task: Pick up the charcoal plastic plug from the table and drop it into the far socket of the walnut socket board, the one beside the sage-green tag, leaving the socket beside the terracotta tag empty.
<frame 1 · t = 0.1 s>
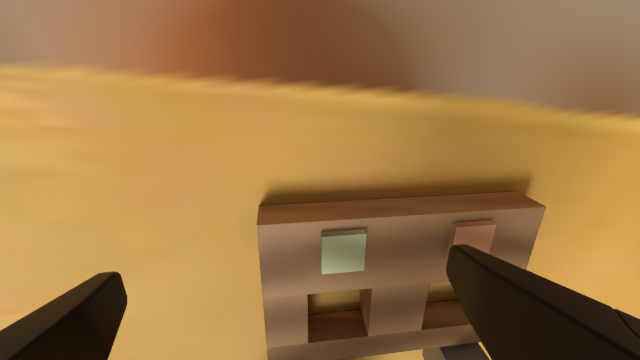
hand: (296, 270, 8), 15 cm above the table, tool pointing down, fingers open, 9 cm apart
socket board: (387, 267, 28), on the table
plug: (442, 339, 32), on the table
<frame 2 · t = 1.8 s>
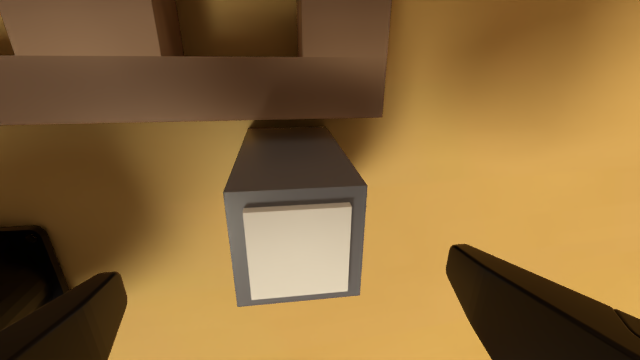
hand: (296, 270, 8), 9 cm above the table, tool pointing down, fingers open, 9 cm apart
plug: (288, 163, 17), on the table
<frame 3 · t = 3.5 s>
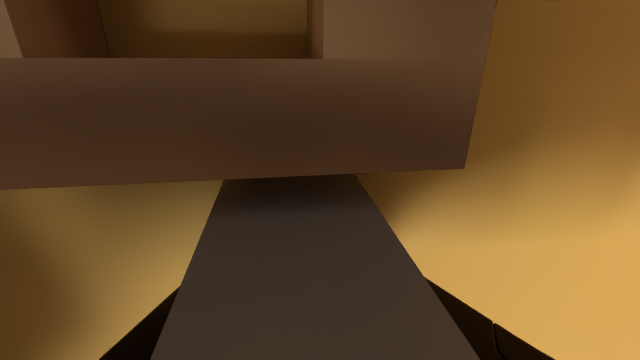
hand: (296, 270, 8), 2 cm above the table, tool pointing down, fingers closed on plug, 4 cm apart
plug: (291, 225, 11), on the table, touching gripper
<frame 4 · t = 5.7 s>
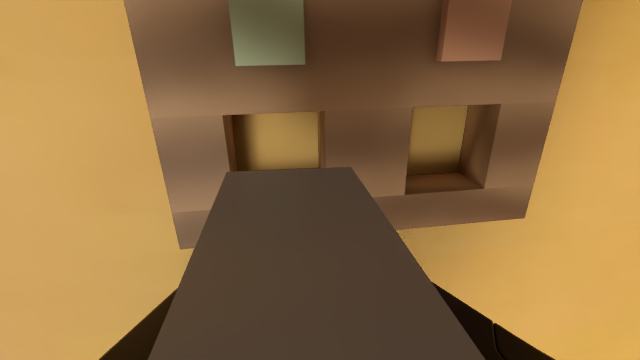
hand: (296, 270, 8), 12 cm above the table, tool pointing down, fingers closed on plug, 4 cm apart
socket board: (355, 111, 19), on the table
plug: (292, 223, 11), point 10 cm above the table, touching gripper
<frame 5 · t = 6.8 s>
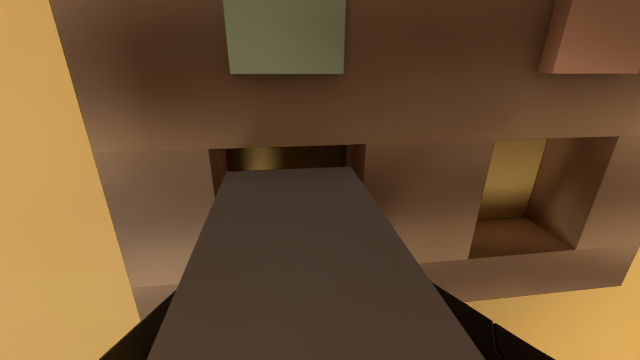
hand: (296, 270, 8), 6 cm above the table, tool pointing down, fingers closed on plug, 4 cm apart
socket board: (398, 137, 14), on the table
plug: (292, 223, 11), point 4 cm above the table, touching gripper
when the fingers open (4 cm above the table, at t = 7.9 s): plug drops 2 cm, resting in socket board.
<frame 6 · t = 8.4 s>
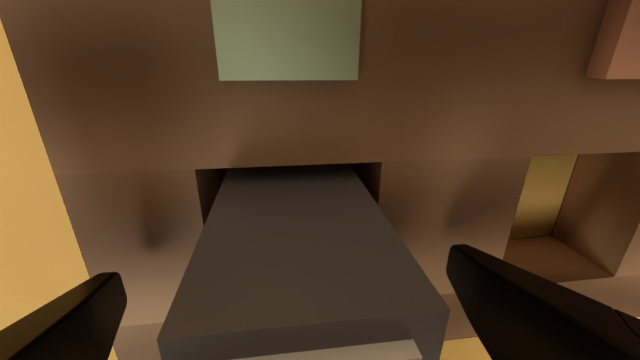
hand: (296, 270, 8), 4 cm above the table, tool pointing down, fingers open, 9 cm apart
socket board: (414, 150, 12), on the table
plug: (289, 200, 12), resting in socket board
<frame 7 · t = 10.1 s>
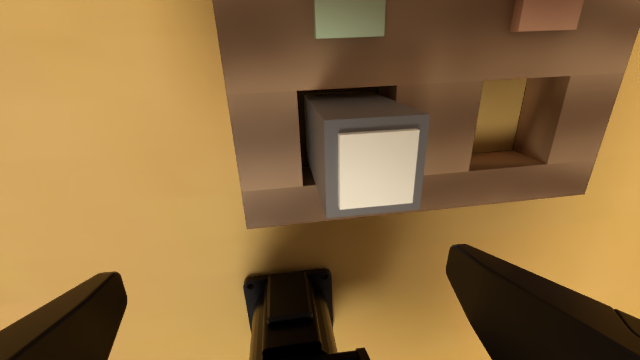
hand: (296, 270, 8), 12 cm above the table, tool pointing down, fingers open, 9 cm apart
socket board: (415, 88, 19), on the table
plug: (337, 125, 19), resting in socket board
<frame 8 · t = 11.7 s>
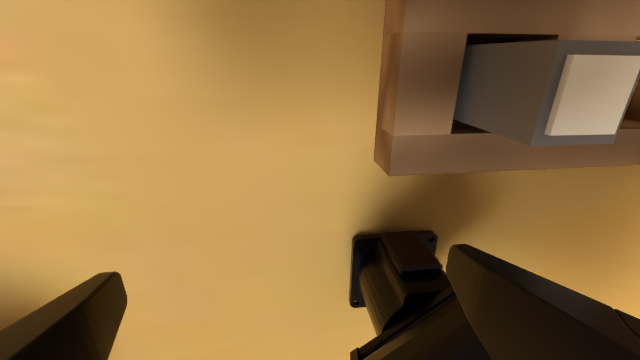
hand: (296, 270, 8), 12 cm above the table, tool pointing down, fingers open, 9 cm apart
socket board: (549, 48, 19), on the table
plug: (469, 81, 19), resting in socket board
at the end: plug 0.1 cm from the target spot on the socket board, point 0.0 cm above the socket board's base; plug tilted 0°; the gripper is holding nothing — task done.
